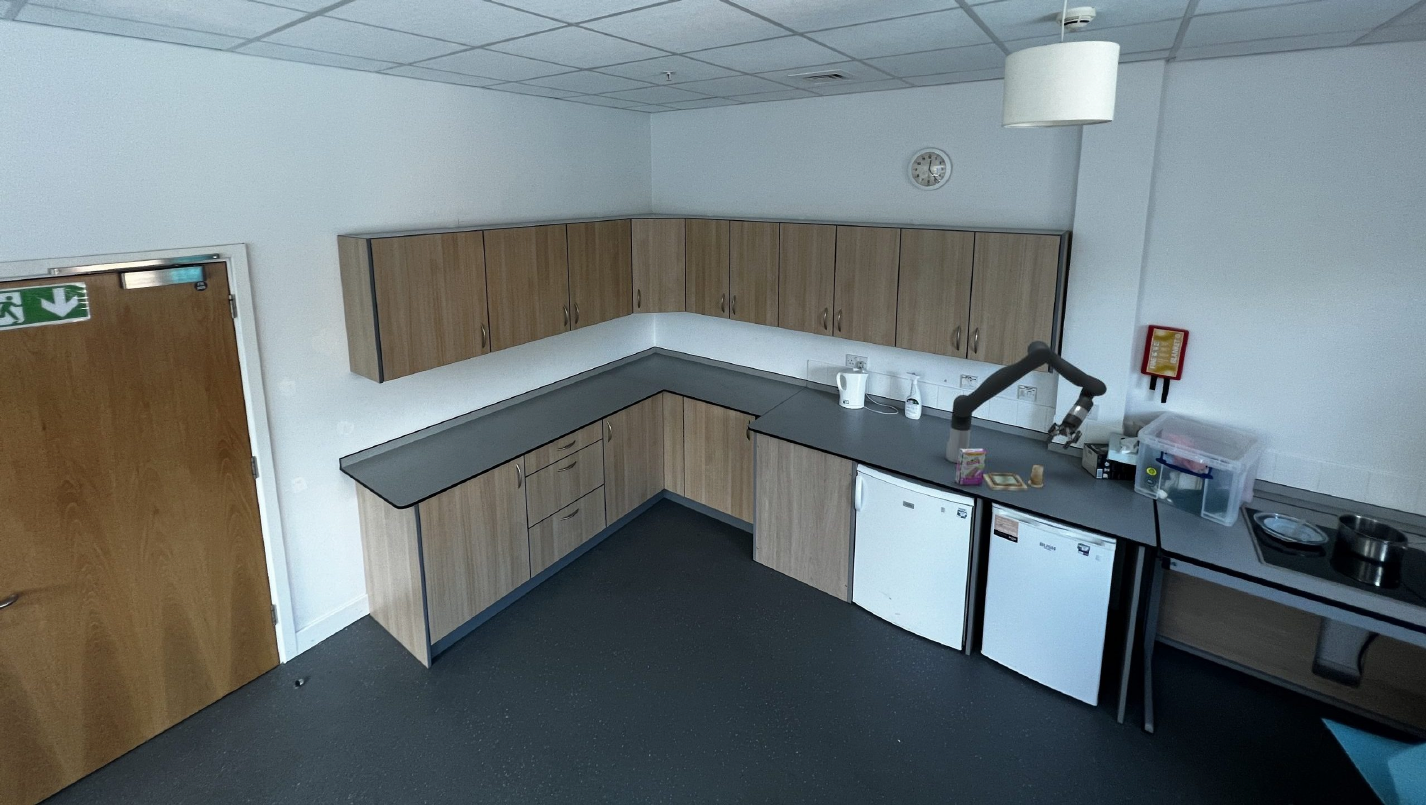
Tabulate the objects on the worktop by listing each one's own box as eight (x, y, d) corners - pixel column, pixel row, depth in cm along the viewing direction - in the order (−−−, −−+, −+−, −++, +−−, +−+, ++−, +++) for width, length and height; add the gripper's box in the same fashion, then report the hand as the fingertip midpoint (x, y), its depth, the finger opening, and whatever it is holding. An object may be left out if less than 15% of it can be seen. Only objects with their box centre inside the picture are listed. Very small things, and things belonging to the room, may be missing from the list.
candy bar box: (958, 485, 327) (962, 452, 322) (954, 480, 332) (958, 448, 326) (982, 484, 327) (986, 452, 322) (978, 480, 332) (982, 447, 327)
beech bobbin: (1024, 484, 328) (1027, 466, 325) (1033, 480, 331) (1036, 463, 328) (1037, 489, 323) (1040, 471, 320) (1046, 485, 326) (1048, 467, 323)
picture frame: (990, 489, 322) (991, 484, 322) (982, 476, 336) (983, 471, 335) (1027, 490, 321) (1027, 485, 320) (1017, 477, 334) (1018, 472, 333)
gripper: (1058, 409, 331) (1039, 437, 330) (1086, 417, 319) (1066, 446, 318) (1064, 417, 335) (1045, 445, 334) (1092, 426, 323) (1073, 454, 322)
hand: (1055, 445), depth 326 cm, fingers open, 8 cm apart
